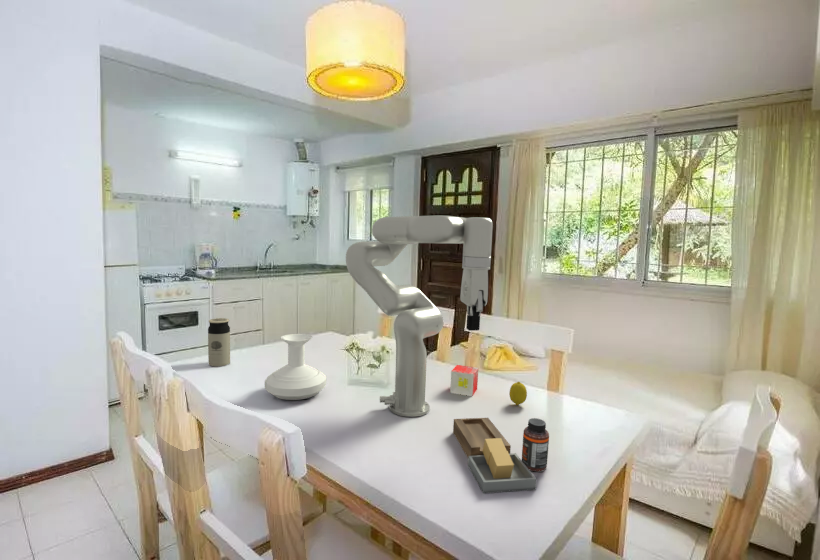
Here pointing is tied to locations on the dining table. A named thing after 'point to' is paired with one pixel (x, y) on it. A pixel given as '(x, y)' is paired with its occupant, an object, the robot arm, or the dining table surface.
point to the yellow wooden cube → (500, 464)
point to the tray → (488, 484)
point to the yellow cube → (492, 447)
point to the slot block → (476, 434)
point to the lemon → (518, 393)
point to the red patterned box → (464, 380)
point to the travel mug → (218, 342)
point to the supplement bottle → (535, 445)
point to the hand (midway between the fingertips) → (472, 329)
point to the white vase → (295, 373)
